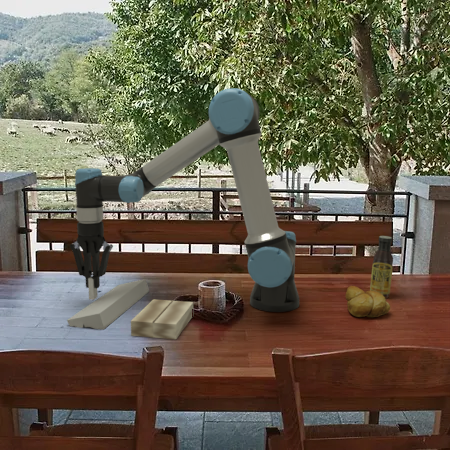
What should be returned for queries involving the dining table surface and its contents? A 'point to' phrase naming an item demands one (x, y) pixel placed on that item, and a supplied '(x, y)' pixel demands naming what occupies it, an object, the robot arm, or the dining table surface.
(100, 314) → the decorative molding
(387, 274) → the sauce bottle
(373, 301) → the bread roll
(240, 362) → the dining table surface
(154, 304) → the floorboards
